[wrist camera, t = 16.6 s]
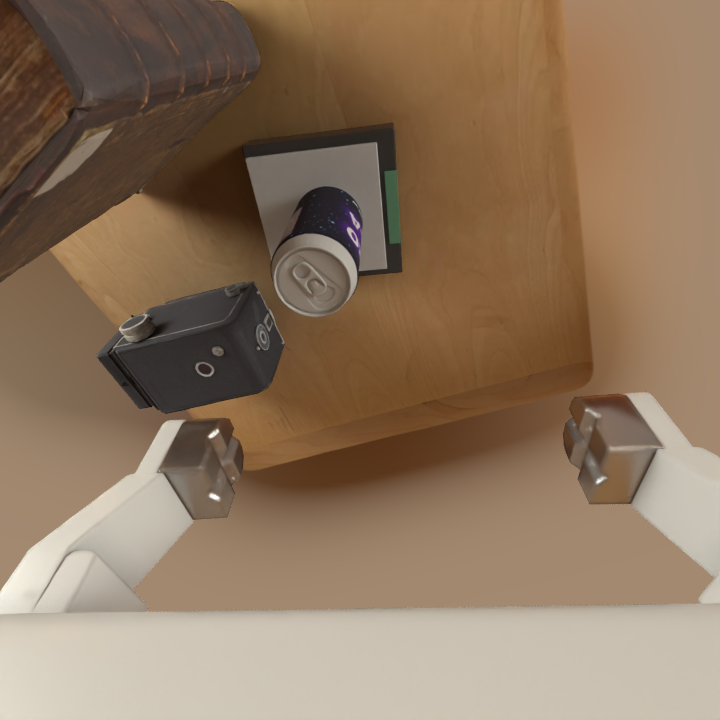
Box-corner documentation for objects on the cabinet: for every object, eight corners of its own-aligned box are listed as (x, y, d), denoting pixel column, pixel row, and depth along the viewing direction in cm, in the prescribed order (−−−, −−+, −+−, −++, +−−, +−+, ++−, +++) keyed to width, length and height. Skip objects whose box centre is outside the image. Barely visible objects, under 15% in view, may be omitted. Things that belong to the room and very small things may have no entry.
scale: (393, 122, 33) (394, 129, 31) (401, 261, 41) (402, 275, 38) (248, 140, 35) (239, 148, 32) (281, 272, 42) (276, 286, 39)
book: (231, -13, 29) (-87, -124, 9) (289, 95, 32) (154, 182, 13) (71, 118, 34) (-354, 228, 14) (137, 197, 38) (-127, 372, 18)
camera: (254, 247, 41) (122, 293, 43) (233, 300, 32) (66, 355, 34) (296, 332, 47) (179, 369, 49) (288, 398, 38) (144, 440, 40)
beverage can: (326, 261, 38) (309, 336, 28) (282, 212, 35) (247, 276, 26) (376, 224, 35) (376, 291, 26) (333, 167, 33) (315, 219, 23)
